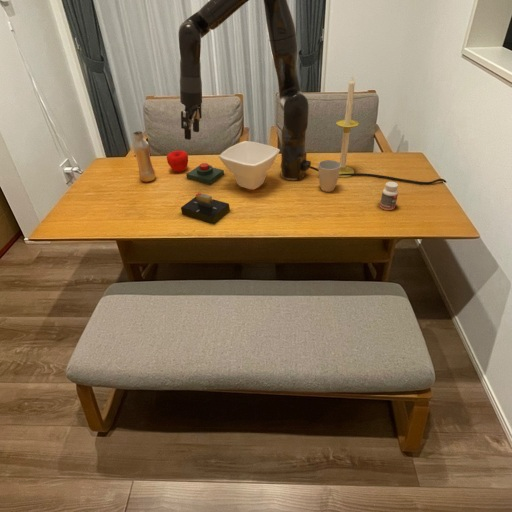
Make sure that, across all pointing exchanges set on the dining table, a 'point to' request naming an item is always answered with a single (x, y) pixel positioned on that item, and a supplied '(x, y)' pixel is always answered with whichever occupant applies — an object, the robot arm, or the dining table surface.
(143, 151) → the plastic bottle
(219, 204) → the panel
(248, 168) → the bowl
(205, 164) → the button
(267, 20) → the robot arm
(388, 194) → the pill bottle
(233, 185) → the dining table surface
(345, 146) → the candle
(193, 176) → the dark grey base plate
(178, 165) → the apple
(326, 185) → the cup
